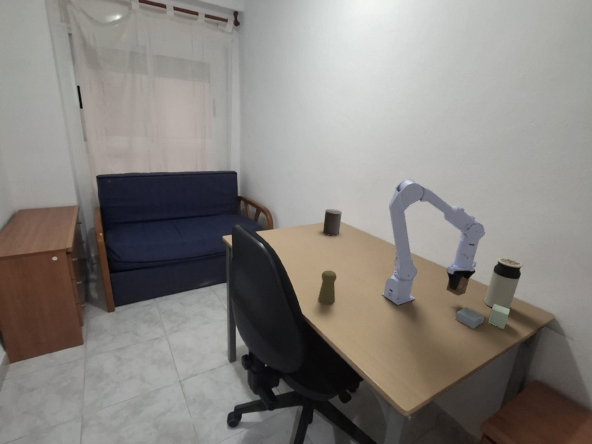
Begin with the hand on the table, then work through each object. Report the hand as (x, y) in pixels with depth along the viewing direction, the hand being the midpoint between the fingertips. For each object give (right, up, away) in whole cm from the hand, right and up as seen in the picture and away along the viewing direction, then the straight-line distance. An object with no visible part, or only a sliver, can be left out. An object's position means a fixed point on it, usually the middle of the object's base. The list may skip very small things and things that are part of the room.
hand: (456, 287), depth 107 cm
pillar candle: (-37, +17, +70) cm, 81 cm away
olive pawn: (-48, -4, -1) cm, 48 cm away
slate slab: (0, -10, -8) cm, 13 cm away
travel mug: (+17, -8, +3) cm, 19 cm away
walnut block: (0, -2, 0) cm, 2 cm away
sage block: (+9, -10, -8) cm, 16 cm away
